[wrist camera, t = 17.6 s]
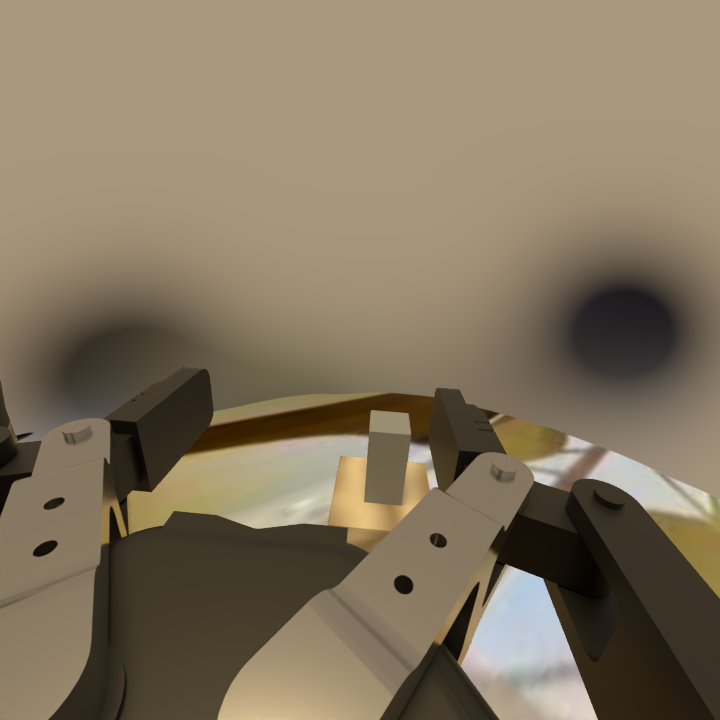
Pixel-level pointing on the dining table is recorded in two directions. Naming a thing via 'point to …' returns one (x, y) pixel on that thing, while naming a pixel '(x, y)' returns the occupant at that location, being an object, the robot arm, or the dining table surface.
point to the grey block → (387, 457)
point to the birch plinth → (371, 518)
